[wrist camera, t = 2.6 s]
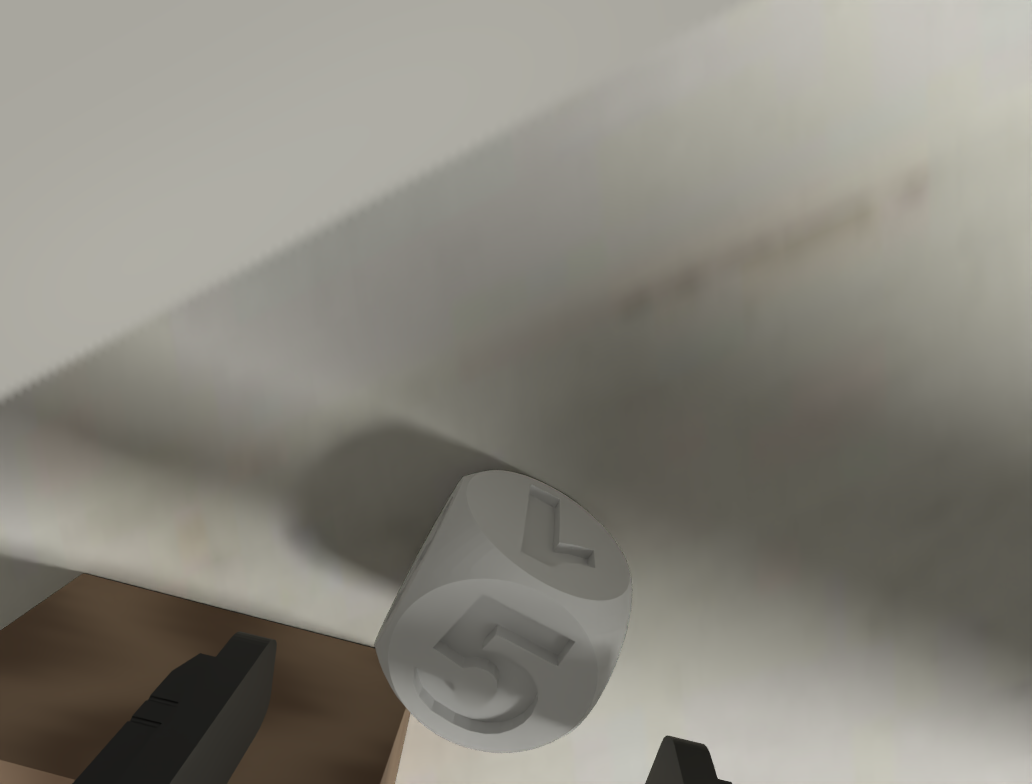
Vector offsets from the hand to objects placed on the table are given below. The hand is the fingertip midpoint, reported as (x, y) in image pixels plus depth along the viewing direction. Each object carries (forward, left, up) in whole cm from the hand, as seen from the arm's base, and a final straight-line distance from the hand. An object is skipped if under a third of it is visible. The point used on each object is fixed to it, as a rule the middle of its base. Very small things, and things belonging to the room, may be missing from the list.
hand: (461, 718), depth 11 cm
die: (0, 0, -7) cm, 7 cm away
